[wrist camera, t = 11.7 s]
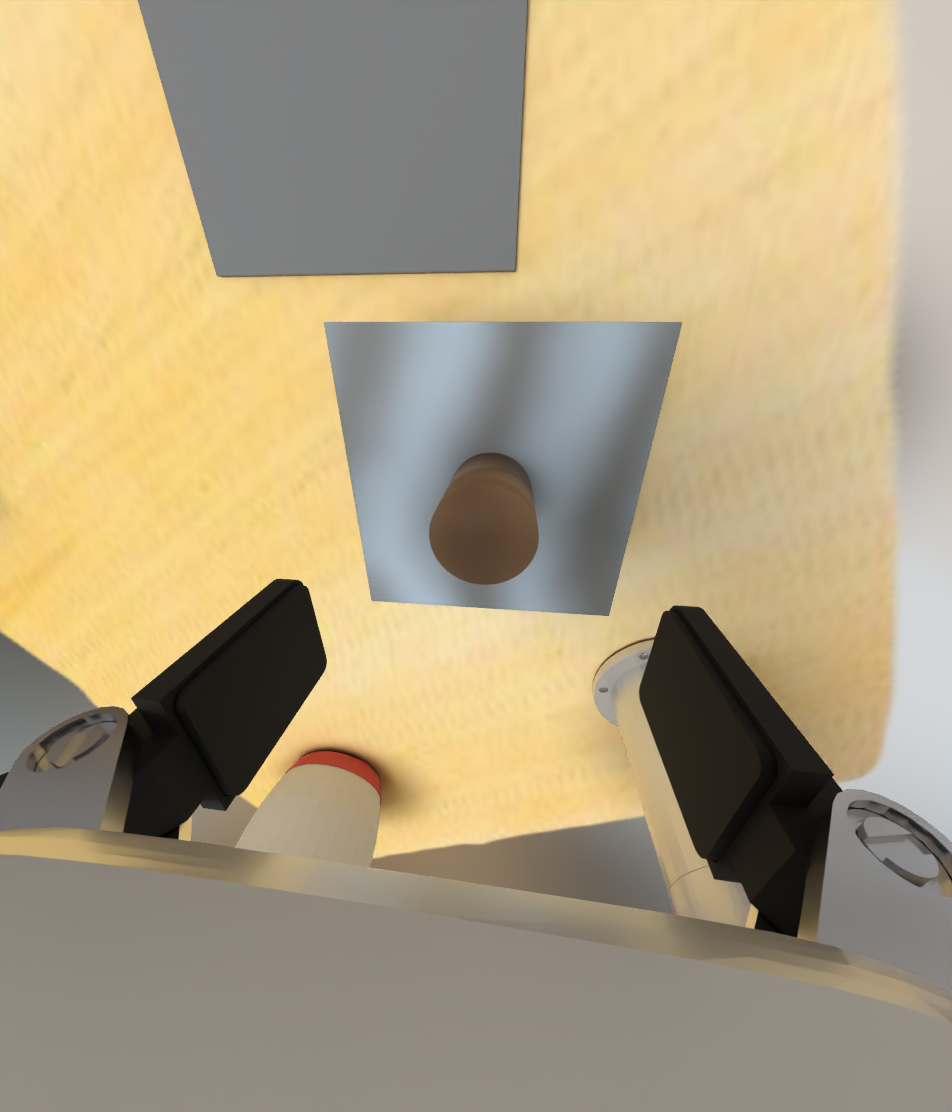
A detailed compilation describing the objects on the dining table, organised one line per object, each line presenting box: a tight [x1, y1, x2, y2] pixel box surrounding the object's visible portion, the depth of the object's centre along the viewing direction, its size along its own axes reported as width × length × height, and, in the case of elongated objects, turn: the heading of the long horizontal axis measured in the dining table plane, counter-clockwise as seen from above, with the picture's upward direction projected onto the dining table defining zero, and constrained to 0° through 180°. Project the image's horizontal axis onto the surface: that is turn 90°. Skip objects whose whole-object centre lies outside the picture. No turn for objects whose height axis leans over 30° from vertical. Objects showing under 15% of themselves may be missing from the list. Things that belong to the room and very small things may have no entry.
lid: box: [324, 322, 682, 616], centre depth 15 cm, size 14×14×6 cm
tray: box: [138, 0, 527, 277], centre depth 17 cm, size 18×15×1 cm
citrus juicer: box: [235, 751, 381, 867], centre depth 39 cm, size 16×17×20 cm
